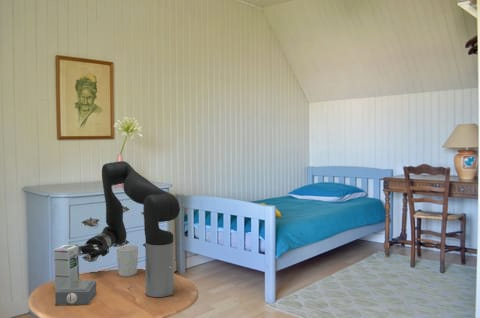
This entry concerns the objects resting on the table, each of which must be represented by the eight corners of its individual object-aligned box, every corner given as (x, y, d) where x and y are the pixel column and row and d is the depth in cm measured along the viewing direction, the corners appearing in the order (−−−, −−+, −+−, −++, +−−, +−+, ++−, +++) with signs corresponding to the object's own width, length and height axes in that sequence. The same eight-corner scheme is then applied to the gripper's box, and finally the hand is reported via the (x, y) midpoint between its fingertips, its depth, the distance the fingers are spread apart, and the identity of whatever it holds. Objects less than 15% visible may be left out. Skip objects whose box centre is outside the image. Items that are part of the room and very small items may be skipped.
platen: (92, 281, 146) (92, 279, 146) (86, 290, 138) (86, 288, 138) (67, 282, 145) (67, 279, 145) (59, 290, 137) (59, 288, 137)
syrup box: (70, 291, 148) (69, 249, 147) (54, 290, 149) (53, 248, 148) (79, 286, 154) (79, 245, 153) (64, 284, 155) (63, 244, 154)
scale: (96, 292, 147) (96, 281, 147) (88, 305, 137) (88, 292, 137) (65, 293, 146) (65, 281, 146) (54, 305, 136) (54, 292, 136)
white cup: (117, 271, 171) (117, 245, 170) (138, 269, 173) (138, 244, 172) (116, 277, 163) (116, 251, 162) (138, 276, 165) (138, 249, 164)
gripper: (81, 234, 178) (61, 244, 161) (115, 236, 176) (99, 246, 160) (81, 253, 178) (61, 265, 162) (115, 254, 177) (99, 266, 161)
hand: (80, 255), depth 161 cm, fingers open, 8 cm apart
